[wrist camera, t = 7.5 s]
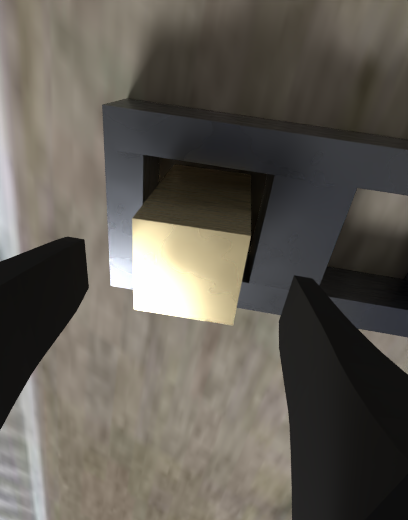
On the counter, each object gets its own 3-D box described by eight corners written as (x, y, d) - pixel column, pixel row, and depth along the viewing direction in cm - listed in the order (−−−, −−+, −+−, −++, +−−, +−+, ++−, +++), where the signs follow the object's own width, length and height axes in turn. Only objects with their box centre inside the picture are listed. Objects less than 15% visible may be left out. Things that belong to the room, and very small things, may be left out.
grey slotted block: (514, 155, 14) (571, 174, 12) (419, 307, 19) (445, 343, 17) (127, 98, 15) (102, 104, 13) (128, 257, 20) (110, 285, 17)
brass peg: (250, 174, 16) (250, 235, 10) (238, 242, 18) (232, 325, 13) (174, 164, 17) (131, 218, 11) (170, 232, 19) (133, 309, 13)
